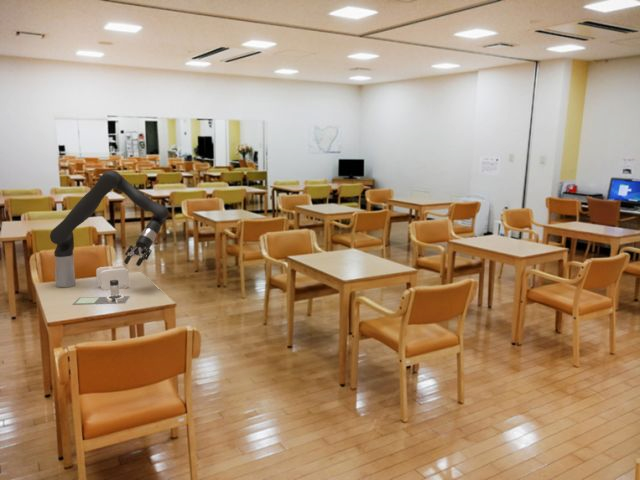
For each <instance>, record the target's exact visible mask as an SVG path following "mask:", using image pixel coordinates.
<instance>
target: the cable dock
mask: <svg viewBox="0 0 640 480" xmlns="http://www.w3.org/2000/svg"><path fill="white" fill-rule="evenodd" d="M129 298H131V295H126V296H124V295H123V294H119V298H117V299H115V301H112V299H111V294H110V295H108V296H90V297H89V296H88V297H84V296H82V297H78V299H76V301H74V303H72V304H71V305H72V306H81V305H82V306H83V305H115V304H116V305H117V304H118V305H119V304H121V305H122V304H126V303H127V301H128V300H129Z"/></svg>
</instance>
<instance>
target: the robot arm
mask: <svg viewBox="0 0 640 480" xmlns="http://www.w3.org/2000/svg"><path fill="white" fill-rule="evenodd" d="M114 189H116V190H119V191H120V192H122V193H123V194H124V195H126V196H127V197H128V198H129V200H130V201H131V202H132V203H133V204H135V205H136V207H138V208H140V209H142V210H143V211H144V212H147V213H148V212H150V213H152V217H151V218H150V221H148V223H147V224H146V226H145V227H144V229H143V230H142V232H141V233H140V234H139V236H138V238H137V239H136V242H135V246H133V245H130V246H128V249H127V250H126V251H125V253H124V255H125V256H126V257H125V259H123V260H124V261H123V263H124V264H125V265H128V264H129V262H130V261H131V259H132V258H133V257H136V256H139V258H138V260H137V261H136V263H135V266H137V267H140V266H141V264H142V263H143V262H144V261H145V260H146V261H147V260H149V257H150V255H151V254H152V251H153V250H152V249H151V247H152V245H153V243H154V241H155V240H156V237H157V235H158V234H159V232H160V231H161V227H162V226H163V225H164V223H165V222H166V220H167V218H168V217H169V214H170V211H169V210H168V208H167V207H166V206H165V205H164V204H161V203H159V202H157V201H154V200H153V199H151V198H150V197H149V196H147V195H146V194H144V192H141V191H139V189H137V188H136V187H135V186H133V184H131V183H130V182H129V181H128V180H127V179H126V178H124V176H123V175H122V174H120V173H119V172H118V171H116V170H113V169H112V170H108V171H105V172H103V173H102V174H101V176H100V177H99V178H98V180H97V181H96V183H95V184H94V185H93V187H92V188H91V189H90V190H89V191H88V192H87V193H85V195H83V196H82V197H81V199H80V200H79V201H78V202H77V203H76V204H75V206H73V208H72V209H71V211H69V213H68V214H67V215H66V217H65V218H64V219H63V220H62V221H61V222H59V223H58V224H57V225H56V226H55V227H54V228H53V229H52V230H51V231H50V234H49V239H50V242H52V243H53V244H54V245H56V248H55V250H54V253H53V254H54V263H55V265H54V267H55V269H54V279H55V280H54V281H55V282H54V283H55V287H56V288H70V287H73V286H75V285H76V273H75V262H74V248H75V245H74V244H75V242H74V239H75V237H74V230H75V229H76V228H77V227H79V226H80V225H81V224H83V223H84V222H85V221H87V220H88V219H89V218H90V217H91V216H92V215H93V214H94V213H95V211H96V210H97V209H98V208H99V206H100V204H101V202H102V200H103V199H104V198H105V196H106V195H108V194H109V193H110V192H111V191H112V190H114Z"/></svg>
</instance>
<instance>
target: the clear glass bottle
mask: <svg viewBox="0 0 640 480" xmlns="http://www.w3.org/2000/svg"><path fill="white" fill-rule="evenodd" d="M109 291H110V295H111V299H112V301H115V299H117V298H119V295H120V289H119V283H118V280H111V281H110V290H109Z"/></svg>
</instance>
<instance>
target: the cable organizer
mask: <svg viewBox="0 0 640 480" xmlns="http://www.w3.org/2000/svg"><path fill="white" fill-rule="evenodd" d="M95 274H96V285H97V287H98V288H101V290H102V291H108V290H109V291H110V281H111V280H118V283H119V290H120V289H121V290H125V289H127V288H129V286H130V277H129V275H130V274H129V270H128V268H126V267H125V266H124V265H122V264H121V265H119V264H118V265H109V266H100V267H98V268H96V271H95Z"/></svg>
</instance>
